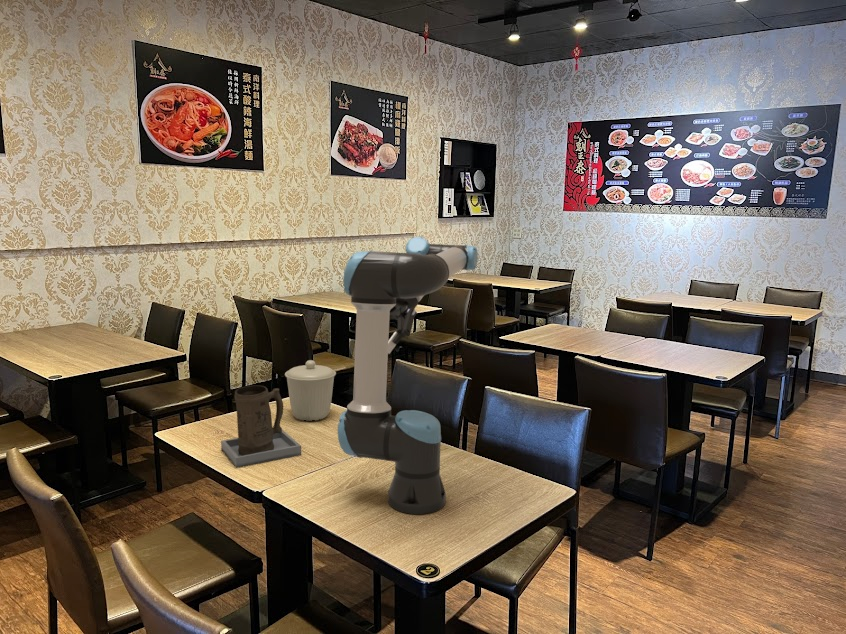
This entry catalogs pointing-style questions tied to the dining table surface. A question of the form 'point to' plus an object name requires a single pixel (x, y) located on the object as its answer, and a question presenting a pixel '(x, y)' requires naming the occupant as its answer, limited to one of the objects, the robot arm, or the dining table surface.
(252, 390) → the beer stein
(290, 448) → the tray
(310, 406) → the canister
